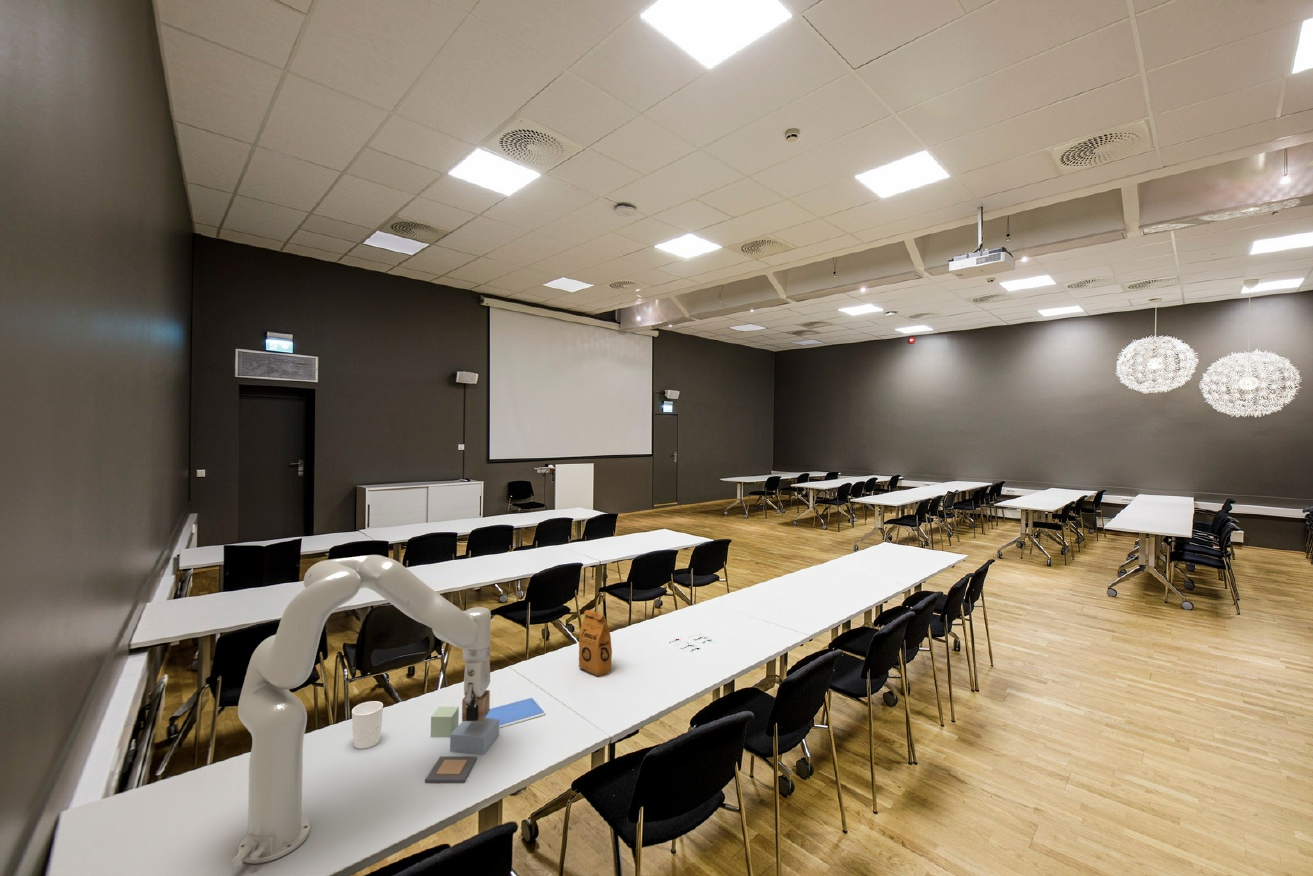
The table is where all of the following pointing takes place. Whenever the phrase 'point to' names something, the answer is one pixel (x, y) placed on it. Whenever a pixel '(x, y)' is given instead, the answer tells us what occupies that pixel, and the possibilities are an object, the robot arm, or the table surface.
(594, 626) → the coffee package
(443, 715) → the sage cube
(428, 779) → the tile
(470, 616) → the robot arm
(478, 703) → the walnut cube
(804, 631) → the table surface
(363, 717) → the white cup
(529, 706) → the tablet computer
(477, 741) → the base block
